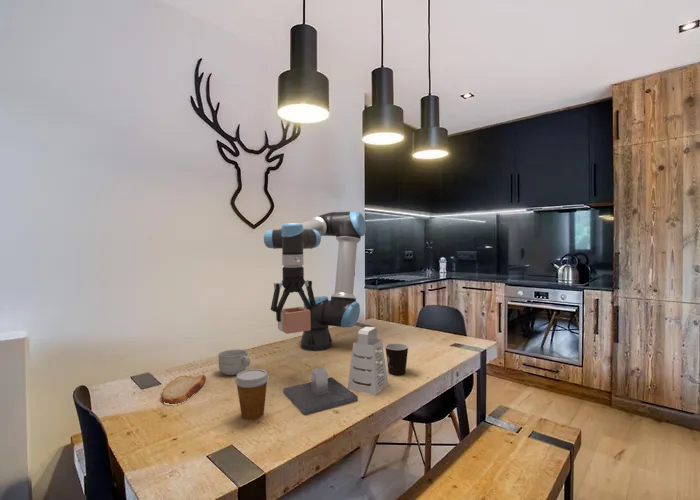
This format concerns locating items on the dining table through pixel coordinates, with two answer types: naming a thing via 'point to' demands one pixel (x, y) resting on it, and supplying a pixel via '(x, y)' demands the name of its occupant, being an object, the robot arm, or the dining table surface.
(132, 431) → the dining table surface
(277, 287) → the robot arm
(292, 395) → the post stand
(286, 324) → the hollow square tube
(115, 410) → the dining table surface
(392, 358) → the coffee mug
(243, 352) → the teacup
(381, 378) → the grater
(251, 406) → the disposable coffee cup
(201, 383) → the slice of bread
